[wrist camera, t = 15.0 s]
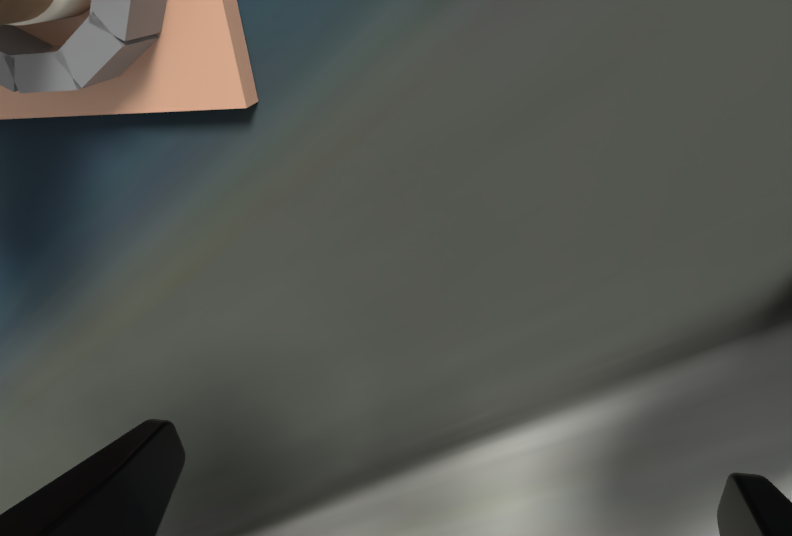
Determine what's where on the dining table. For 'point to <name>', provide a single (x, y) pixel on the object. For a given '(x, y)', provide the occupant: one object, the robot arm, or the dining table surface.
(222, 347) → the dining table surface
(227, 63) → the collar
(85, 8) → the brown cylinder
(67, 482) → the robot arm
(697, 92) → the dining table surface
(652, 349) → the dining table surface
